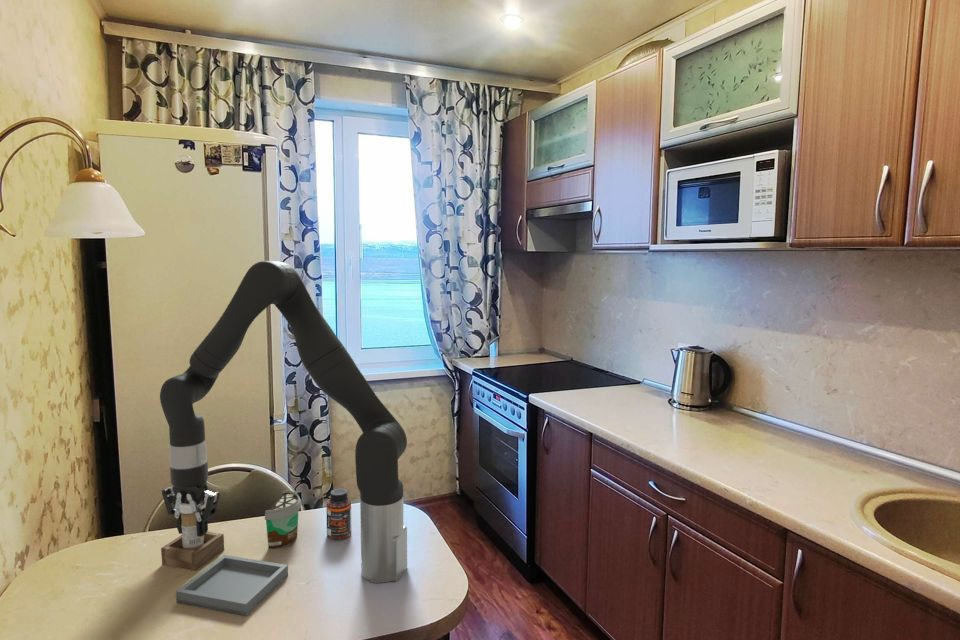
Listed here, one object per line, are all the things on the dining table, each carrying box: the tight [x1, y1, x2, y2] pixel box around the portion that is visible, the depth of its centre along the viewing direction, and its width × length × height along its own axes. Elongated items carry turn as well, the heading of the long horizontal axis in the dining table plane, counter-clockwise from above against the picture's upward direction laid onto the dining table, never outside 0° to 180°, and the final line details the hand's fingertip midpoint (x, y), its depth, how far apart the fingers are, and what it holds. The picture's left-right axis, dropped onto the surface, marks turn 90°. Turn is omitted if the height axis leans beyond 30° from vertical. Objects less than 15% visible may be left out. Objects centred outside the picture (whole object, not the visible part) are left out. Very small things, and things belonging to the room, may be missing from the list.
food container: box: [264, 489, 302, 550], centre depth 136 cm, size 12×6×10 cm, turn 179°
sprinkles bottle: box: [180, 503, 204, 551], centre depth 127 cm, size 5×5×13 cm
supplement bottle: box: [326, 488, 352, 541], centre depth 138 cm, size 6×6×11 cm
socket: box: [160, 531, 225, 572], centre depth 128 cm, size 9×9×4 cm
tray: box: [175, 554, 289, 617], centre depth 116 cm, size 16×14×2 cm
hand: (192, 533), depth 128 cm, fingers closed on sprinkles bottle, 4 cm apart
